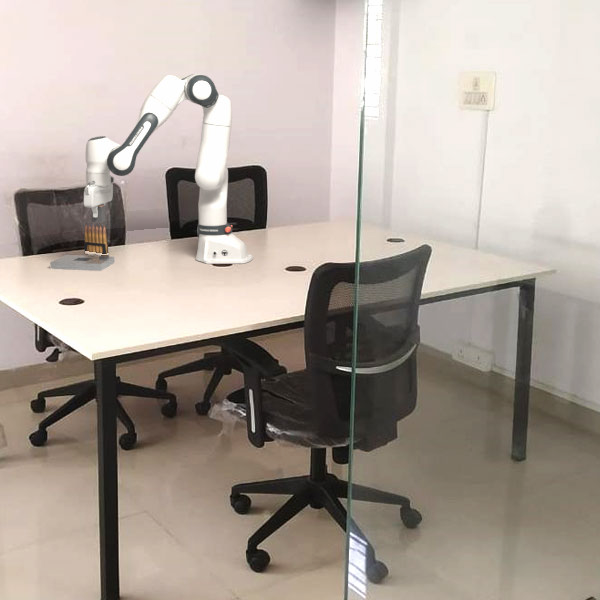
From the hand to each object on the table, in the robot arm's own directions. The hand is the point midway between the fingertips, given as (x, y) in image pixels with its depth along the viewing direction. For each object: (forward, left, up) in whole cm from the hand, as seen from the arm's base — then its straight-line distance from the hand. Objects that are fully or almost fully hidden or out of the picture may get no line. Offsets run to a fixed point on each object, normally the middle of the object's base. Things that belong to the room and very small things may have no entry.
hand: (98, 216), depth 347 cm
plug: (0, 0, -2) cm, 2 cm away
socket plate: (+5, +5, -19) cm, 20 cm away
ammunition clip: (+8, -16, -19) cm, 26 cm away
